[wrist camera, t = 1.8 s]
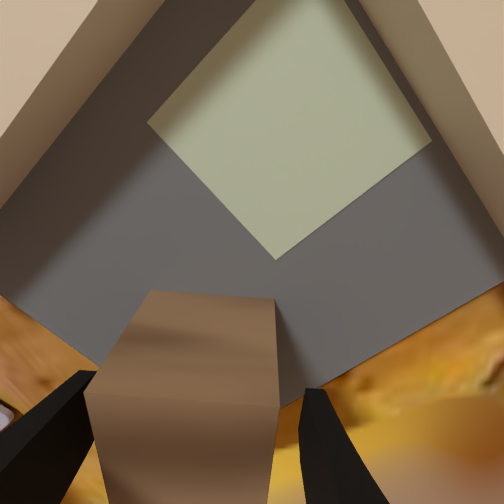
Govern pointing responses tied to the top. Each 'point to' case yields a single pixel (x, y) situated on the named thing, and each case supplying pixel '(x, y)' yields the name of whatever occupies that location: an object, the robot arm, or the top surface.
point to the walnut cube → (189, 402)
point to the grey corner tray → (252, 165)
